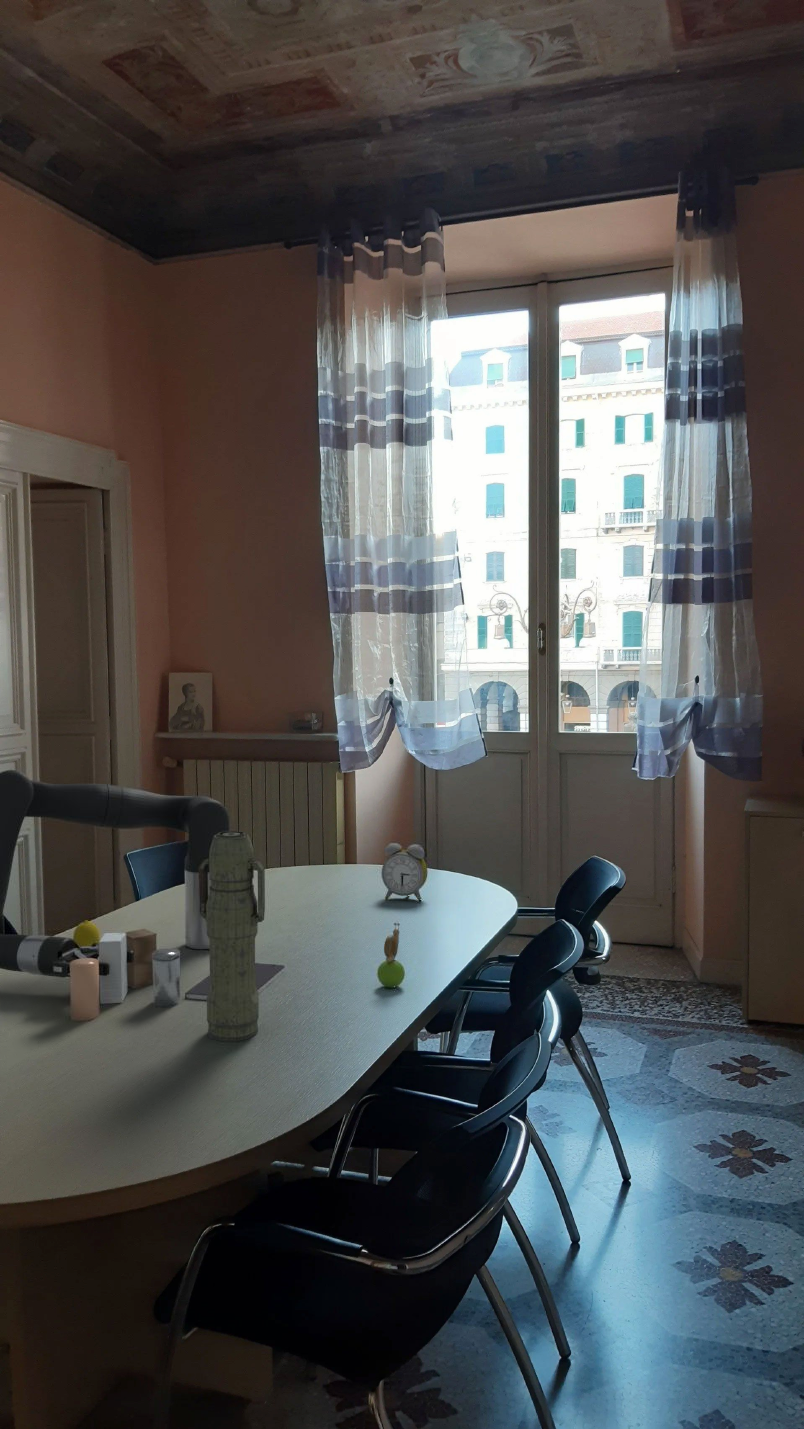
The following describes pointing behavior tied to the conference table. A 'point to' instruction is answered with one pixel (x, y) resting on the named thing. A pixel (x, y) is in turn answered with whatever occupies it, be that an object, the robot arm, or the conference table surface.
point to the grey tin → (166, 977)
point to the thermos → (232, 934)
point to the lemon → (86, 934)
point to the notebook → (262, 979)
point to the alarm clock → (404, 870)
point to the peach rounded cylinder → (84, 989)
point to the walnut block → (140, 957)
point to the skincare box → (113, 967)
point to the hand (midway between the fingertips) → (121, 963)
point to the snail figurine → (391, 962)
